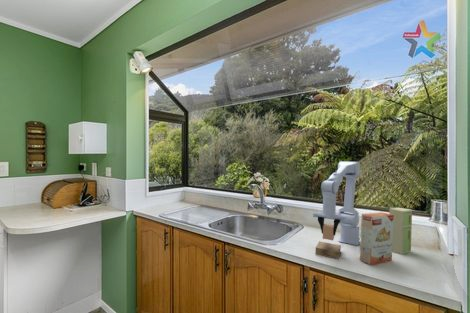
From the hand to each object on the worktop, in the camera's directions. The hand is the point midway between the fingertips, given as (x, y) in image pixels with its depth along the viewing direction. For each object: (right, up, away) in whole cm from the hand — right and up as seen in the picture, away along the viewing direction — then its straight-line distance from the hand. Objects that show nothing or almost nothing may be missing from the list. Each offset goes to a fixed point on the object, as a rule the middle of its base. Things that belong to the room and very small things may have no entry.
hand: (328, 233), depth 115 cm
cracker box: (+18, -10, -8) cm, 22 cm away
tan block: (0, -2, 0) cm, 2 cm away
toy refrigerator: (+38, -10, +4) cm, 39 cm away
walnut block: (0, -9, 0) cm, 9 cm away
